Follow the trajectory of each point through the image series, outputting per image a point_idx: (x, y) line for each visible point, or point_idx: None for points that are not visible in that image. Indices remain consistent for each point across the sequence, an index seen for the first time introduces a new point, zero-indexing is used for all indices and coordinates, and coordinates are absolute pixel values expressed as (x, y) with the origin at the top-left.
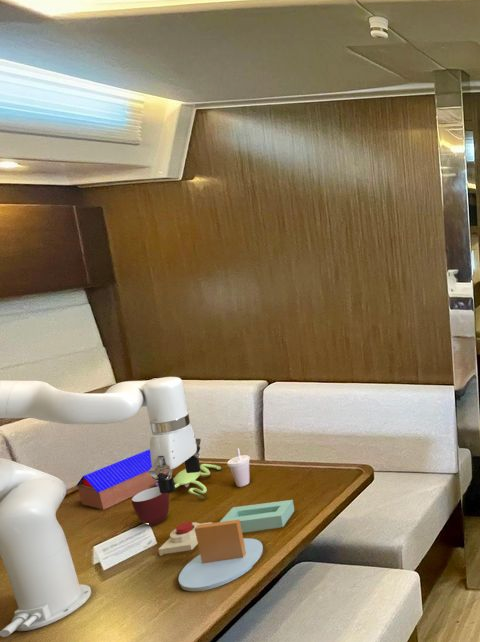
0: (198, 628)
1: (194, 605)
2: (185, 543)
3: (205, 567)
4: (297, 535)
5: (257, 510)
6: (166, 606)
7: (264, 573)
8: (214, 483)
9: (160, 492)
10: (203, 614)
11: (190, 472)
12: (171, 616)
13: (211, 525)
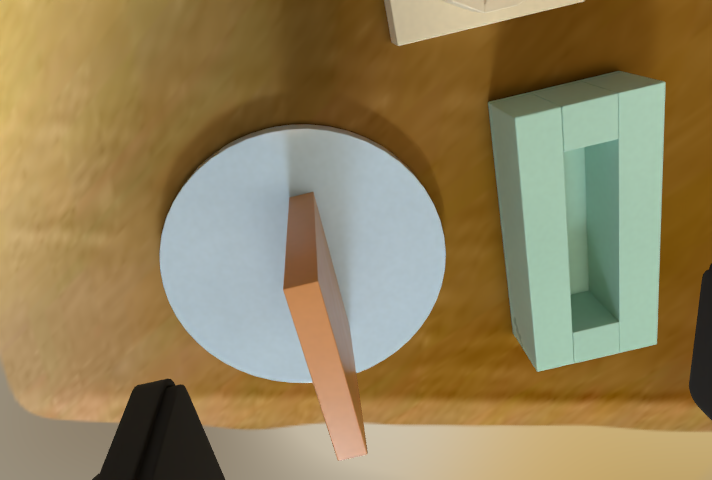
0: (34, 403)
1: (109, 319)
2: (408, 5)
3: (267, 231)
4: (461, 405)
5: (613, 224)
6: (84, 225)
7: (271, 425)
8: None
9: (137, 390)
10: (83, 376)
11: (701, 315)
12: (50, 283)
13: (313, 361)
